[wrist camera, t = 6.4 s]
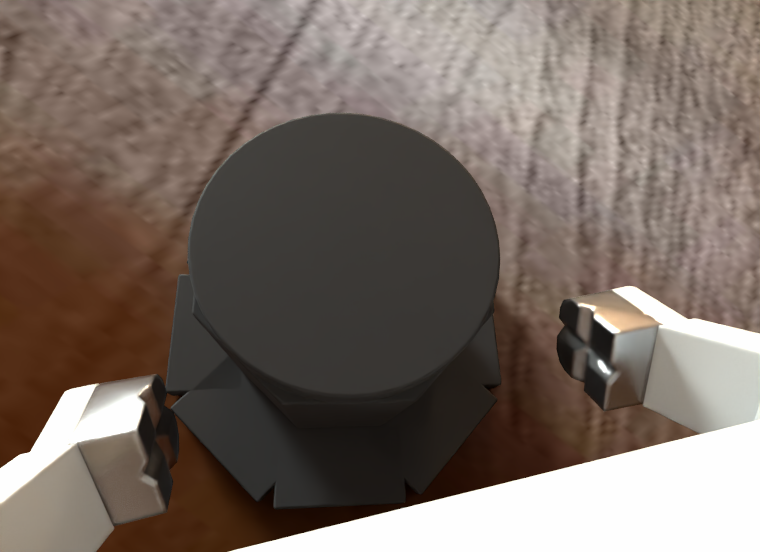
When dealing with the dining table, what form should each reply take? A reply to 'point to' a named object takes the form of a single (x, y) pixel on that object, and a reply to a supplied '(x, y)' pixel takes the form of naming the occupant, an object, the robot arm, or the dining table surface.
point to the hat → (337, 312)
